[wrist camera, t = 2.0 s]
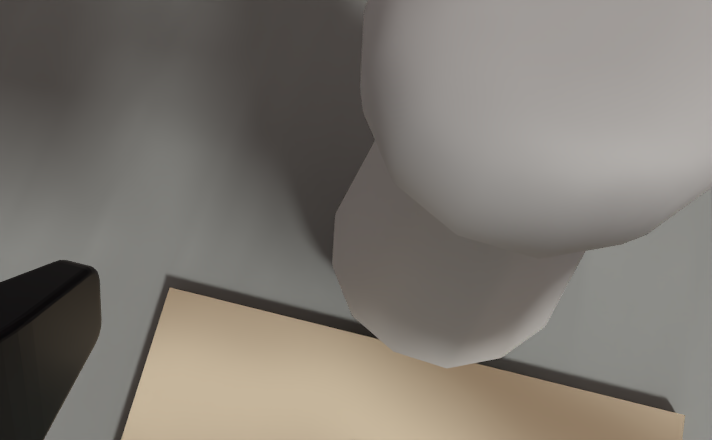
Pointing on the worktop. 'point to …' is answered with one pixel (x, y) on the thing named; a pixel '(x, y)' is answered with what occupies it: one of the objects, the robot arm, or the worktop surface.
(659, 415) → the board
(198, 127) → the worktop surface
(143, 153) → the worktop surface
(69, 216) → the worktop surface
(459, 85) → the salt shaker
